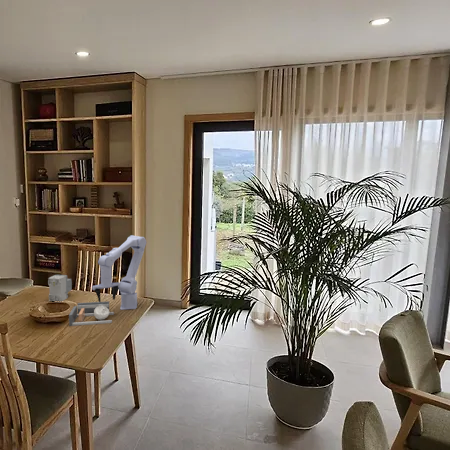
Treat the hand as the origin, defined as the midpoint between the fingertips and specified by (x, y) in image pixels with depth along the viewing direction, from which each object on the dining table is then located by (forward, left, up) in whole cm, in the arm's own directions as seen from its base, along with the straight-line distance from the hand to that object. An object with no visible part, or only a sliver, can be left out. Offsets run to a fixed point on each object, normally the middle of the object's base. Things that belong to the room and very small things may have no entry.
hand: (106, 300), depth 178 cm
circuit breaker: (+32, -34, -10) cm, 47 cm away
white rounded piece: (+3, +3, -10) cm, 10 cm away
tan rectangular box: (+13, +3, -9) cm, 16 cm away
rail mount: (+7, +1, -9) cm, 12 cm away
